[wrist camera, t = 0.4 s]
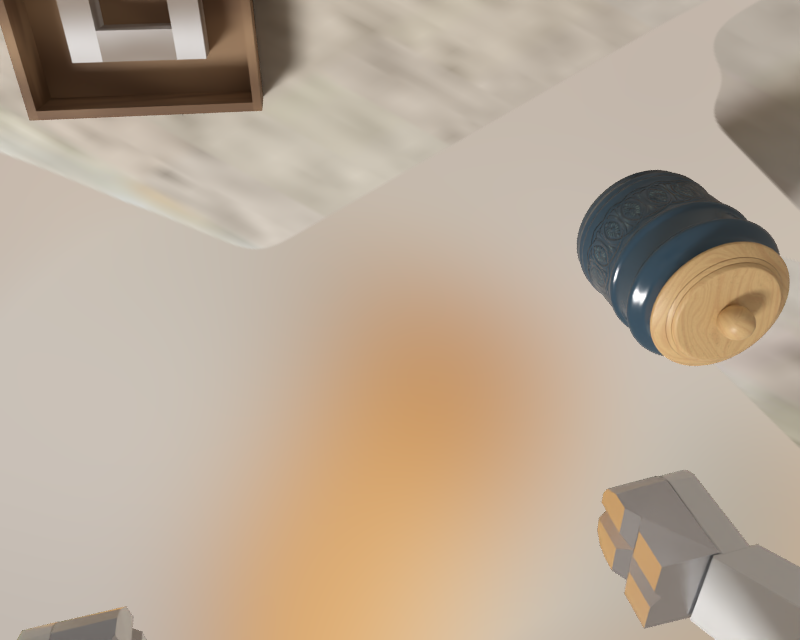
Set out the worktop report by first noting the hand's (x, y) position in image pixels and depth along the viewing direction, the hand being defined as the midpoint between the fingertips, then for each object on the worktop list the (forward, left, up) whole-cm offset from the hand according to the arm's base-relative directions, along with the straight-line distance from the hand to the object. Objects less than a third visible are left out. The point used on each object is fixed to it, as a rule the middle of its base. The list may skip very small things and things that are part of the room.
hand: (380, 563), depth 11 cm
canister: (+18, +31, -47) cm, 58 cm away
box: (-4, -11, -46) cm, 48 cm away
